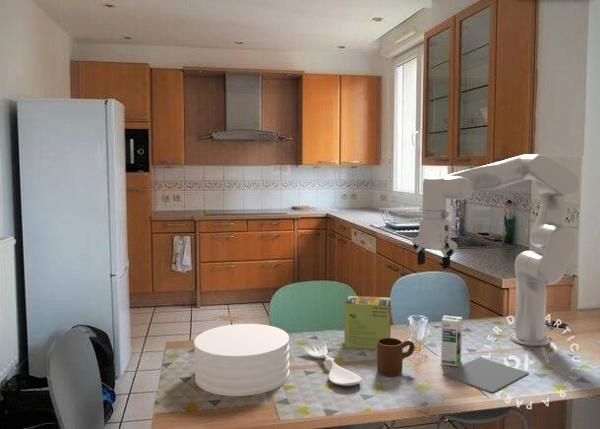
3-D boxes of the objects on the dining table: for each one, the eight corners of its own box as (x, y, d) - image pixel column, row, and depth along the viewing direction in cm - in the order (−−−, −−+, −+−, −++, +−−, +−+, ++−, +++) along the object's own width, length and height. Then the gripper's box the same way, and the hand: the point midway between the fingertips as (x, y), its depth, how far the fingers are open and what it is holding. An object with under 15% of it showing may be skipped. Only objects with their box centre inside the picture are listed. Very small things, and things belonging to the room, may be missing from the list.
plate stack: (296, 392, 145) (295, 352, 144) (193, 400, 141) (192, 359, 140) (283, 355, 173) (282, 321, 172) (196, 361, 168) (195, 326, 167)
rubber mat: (480, 358, 168) (480, 357, 168) (528, 373, 156) (528, 372, 155) (442, 375, 155) (442, 373, 155) (492, 393, 143) (492, 392, 143)
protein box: (389, 350, 176) (390, 305, 174) (344, 347, 179) (344, 303, 177) (390, 339, 186) (391, 297, 184) (347, 337, 189) (347, 295, 187)
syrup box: (440, 364, 163) (441, 319, 161) (442, 358, 168) (443, 314, 167) (459, 367, 161) (460, 321, 159) (461, 360, 166) (462, 316, 165)
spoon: (324, 350, 177) (324, 340, 177) (367, 389, 147) (367, 377, 147) (299, 353, 174) (299, 343, 174) (337, 393, 144) (337, 381, 144)
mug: (408, 364, 164) (408, 334, 163) (420, 373, 157) (420, 343, 156) (372, 368, 161) (372, 338, 160) (383, 378, 153) (383, 347, 152)
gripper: (463, 216, 168) (462, 268, 170) (419, 212, 181) (418, 261, 183) (450, 218, 163) (449, 272, 165) (405, 214, 176) (405, 264, 178)
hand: (433, 266), depth 174 cm, fingers open, 9 cm apart
